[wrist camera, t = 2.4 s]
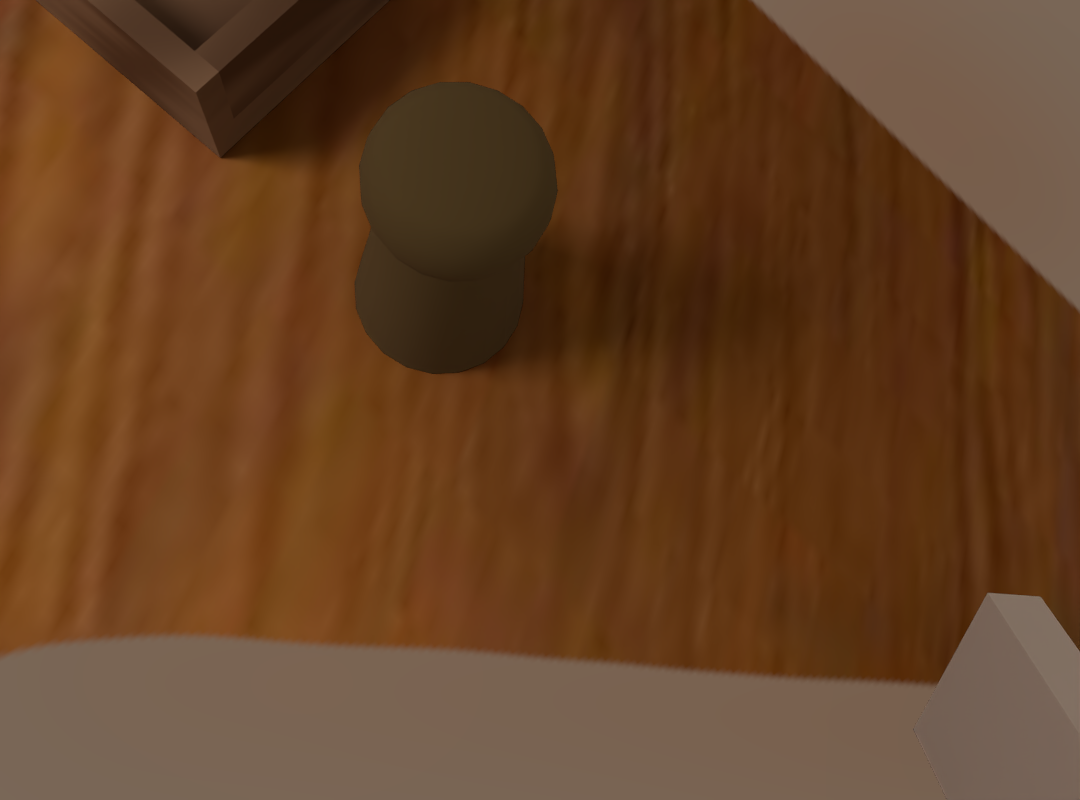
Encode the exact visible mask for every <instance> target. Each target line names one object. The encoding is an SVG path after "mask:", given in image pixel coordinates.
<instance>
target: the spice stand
mask: <svg viewBox="0 0 1080 800" xmlns="http://www.w3.org/2000/svg"><path fill="white" fill-rule="evenodd" d="M36 1H37V2H38V3H40V4H41V5H42V6H43V7H44V8H46V9H47V10H48V11H49V12H50V13H51V14H53V15H54V16H55V17H56V18H57V19H58V20H60V21H61V22H62V23H63V24H64V25H65V26H67V27H68V28H69V29H70V30H71V31H72V32H74V33H75V34H76V35H77V36H78V37H79V38H81V39H82V40H83V41H84V42H85V43H86V44H88V45H89V46H90V47H91V48H92V49H93V50H95V51H96V52H97V53H98V54H99V55H101V56H102V57H103V58H104V59H105V60H106V61H108V62H109V63H110V64H111V65H112V66H113V67H115V68H116V69H117V70H118V71H119V72H120V73H122V74H123V75H124V76H125V77H126V78H127V79H129V80H130V81H131V82H132V83H133V84H134V85H136V86H137V87H138V88H139V89H140V90H141V91H143V92H144V93H145V94H146V95H147V96H148V97H150V98H151V99H152V100H153V101H154V102H156V103H157V104H158V105H159V106H160V107H161V108H163V109H164V110H165V111H166V112H167V113H168V114H170V115H171V116H172V117H173V118H174V119H175V120H177V121H178V122H179V123H180V124H181V125H182V126H184V127H185V128H186V129H187V130H188V131H189V132H191V133H192V134H193V135H194V136H195V137H196V138H198V139H199V140H200V141H201V142H202V143H204V144H205V145H206V146H207V147H208V148H209V149H211V150H212V151H213V152H214V153H215V154H216V155H218V156H219V157H220V158H221V157H222V156H223V155H224V154H225V153H226V152H227V151H228V150H229V149H230V148H231V147H233V146H234V145H235V144H236V143H237V142H238V141H239V140H240V139H241V138H242V137H243V136H244V135H245V134H246V133H248V132H249V131H250V130H251V129H252V128H253V127H254V126H255V125H256V124H257V123H258V122H259V121H260V120H262V119H263V118H264V117H265V116H266V115H267V114H268V113H269V112H270V111H271V110H272V109H273V108H274V107H275V106H277V105H278V104H279V103H280V102H281V101H282V100H283V99H284V98H285V97H286V96H287V95H288V94H289V93H291V92H292V91H293V90H294V89H295V88H296V87H297V86H298V85H299V84H300V83H301V82H302V81H303V80H304V79H306V78H307V77H308V76H309V75H310V74H311V73H312V72H313V71H314V70H315V69H316V68H317V67H318V66H320V65H321V64H322V63H323V62H324V61H325V60H326V59H327V58H328V57H329V56H330V55H331V54H332V53H333V52H335V51H336V50H337V49H338V48H339V47H340V46H341V45H342V44H343V43H344V42H345V41H346V40H347V39H349V38H350V37H351V36H352V35H353V34H354V33H355V32H356V31H357V30H358V29H359V28H360V27H361V26H362V25H364V24H365V23H366V22H367V21H368V20H369V19H370V18H371V17H372V16H373V15H374V14H375V13H376V12H378V11H379V10H380V9H381V8H382V7H383V6H384V5H385V4H386V3H387V2H388V1H389V0H36Z"/></svg>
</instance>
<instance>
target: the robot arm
mask: <svg viewBox="0 0 1080 800" xmlns="http://www.w3.org/2000/svg"><path fill="white" fill-rule="evenodd" d="M913 730H914V732H915V734H916V736H917V738H918V740H919V742H920V744H921V747H922V749H923V751H924V753H925V755H926V757H927V759H928V761H929V763H930V765H931V768H932V770H933V772H934V774H935V776H936V778H937V780H938V782H939V784H940V786H941V788H942V791H943V793H944V795H945V797H946V799H947V800H1080V651H1079V650H1078V649H1077V647H1076V646H1075V644H1074V643H1073V642H1072V640H1071V639H1070V637H1069V636H1068V635H1067V633H1066V632H1065V630H1064V629H1063V627H1062V626H1061V625H1060V623H1059V622H1058V620H1057V619H1056V618H1055V616H1054V615H1053V613H1052V612H1051V611H1050V609H1049V608H1048V606H1047V605H1046V604H1045V602H1044V601H1043V599H1042V598H1041V597H1038V596H1024V595H1010V594H996V593H987V595H986V597H985V599H984V600H983V602H982V604H981V606H980V608H979V610H978V611H977V613H976V615H975V617H974V619H973V621H972V622H971V624H970V626H969V628H968V630H967V632H966V633H965V635H964V637H963V639H962V641H961V643H960V644H959V646H958V648H957V650H956V652H955V654H954V655H953V657H952V659H951V661H950V663H949V664H948V666H947V668H946V670H945V672H944V674H943V675H942V677H941V679H940V681H939V683H938V685H937V686H936V688H935V690H934V692H933V694H932V696H931V697H930V699H929V701H928V703H927V705H926V707H925V708H924V711H923V712H922V714H921V716H920V718H919V719H918V721H917V723H916V725H915V727H914V729H913Z"/></svg>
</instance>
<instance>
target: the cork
mask: <svg viewBox="0 0 1080 800" xmlns="http://www.w3.org/2000/svg"><path fill="white" fill-rule="evenodd" d="M359 170H360V187H361V200H362V206H363V208H364V211H365V213H366V215H367V218H368V220H369V223H370V225H371V231H370V234H369V237H368V240H367V243H366V246H365V249H364V252H363V255H362V259H361V262H360V266H359V269H358V273H357V276H356V280H355V298H356V309H357V312H358V314H359V317H360V319H361V322H362V324H363V326H364V329H365V331H366V333H367V334H368V336H369V337H370V338H371V339H372V340H373V341H374V343H375V344H376V345H377V346H378V347H379V348H380V350H381V351H382V352H383V353H384V354H386V355H388V356H389V357H391V358H392V359H394V360H396V361H397V362H399V363H401V364H402V365H404V366H405V367H408V368H412V369H416V370H420V371H424V372H428V373H432V374H437V373H455V372H461V371H464V370H467V369H469V368H472V367H475V366H477V365H480V364H482V363H485V362H486V361H487V360H488V359H489V358H491V357H492V356H493V355H494V354H496V353H497V352H498V351H499V350H501V349H502V348H503V347H504V346H505V344H506V343H507V341H508V340H509V338H510V336H511V335H512V333H513V332H514V330H515V328H516V327H517V325H518V321H519V316H520V312H521V308H522V304H523V291H524V265H525V255H527V254H528V253H529V252H531V251H532V249H533V248H534V246H535V245H536V243H537V242H538V240H539V239H540V237H541V235H542V234H543V232H544V231H545V229H546V228H547V226H548V224H549V222H550V220H551V217H552V212H553V208H554V204H555V200H556V195H557V191H558V190H557V181H556V171H555V162H554V155H553V152H552V150H551V147H550V145H549V143H548V141H547V139H546V136H545V134H544V132H543V130H542V128H541V127H540V125H539V124H538V123H537V122H536V121H535V120H534V119H533V118H532V116H531V115H530V114H529V113H528V112H527V111H526V110H525V108H524V107H523V106H521V105H520V104H518V103H517V102H515V101H513V100H512V99H510V98H509V97H507V96H505V95H504V94H502V93H501V92H499V91H497V90H494V89H491V88H487V87H484V86H480V85H477V84H473V83H470V82H439V83H436V84H432V85H429V86H426V87H423V88H419V89H416V90H413V91H411V92H409V93H408V94H406V95H405V96H404V97H402V98H401V99H399V100H398V101H396V102H395V103H394V104H392V105H391V106H389V107H388V108H387V110H386V111H385V112H384V114H383V115H382V116H381V118H380V119H379V121H378V122H377V123H376V125H375V126H374V127H373V129H372V130H371V132H370V134H369V136H368V138H367V141H366V144H365V148H364V151H363V154H362V158H361V161H360V165H359Z"/></svg>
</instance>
